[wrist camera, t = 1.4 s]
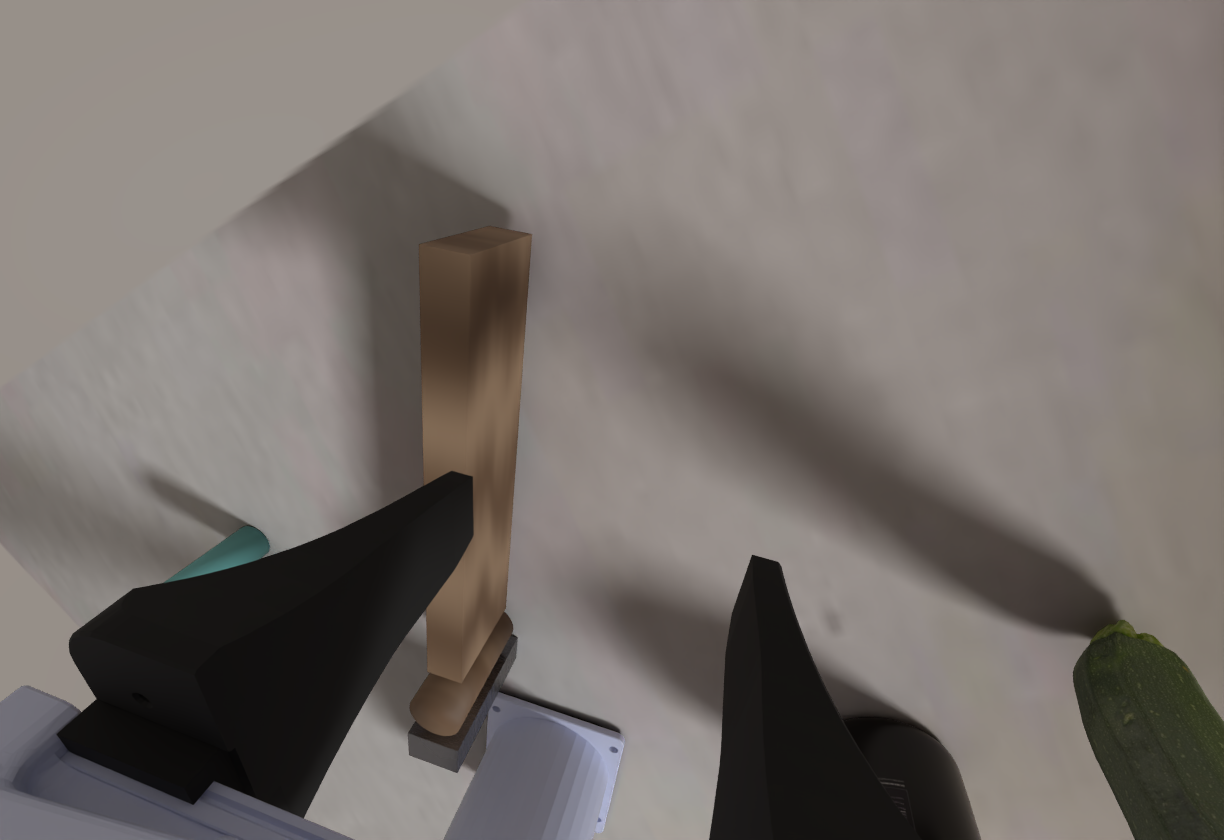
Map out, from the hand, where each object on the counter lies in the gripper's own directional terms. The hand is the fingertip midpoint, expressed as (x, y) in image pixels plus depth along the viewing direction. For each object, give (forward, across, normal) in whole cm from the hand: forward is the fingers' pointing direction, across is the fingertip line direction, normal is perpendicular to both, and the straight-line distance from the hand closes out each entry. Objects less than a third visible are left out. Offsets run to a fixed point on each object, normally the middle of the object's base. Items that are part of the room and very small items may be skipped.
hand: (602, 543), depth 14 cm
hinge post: (+8, +6, +17) cm, 20 cm away
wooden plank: (+8, +6, +5) cm, 12 cm away
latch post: (+8, +22, +15) cm, 28 cm away
